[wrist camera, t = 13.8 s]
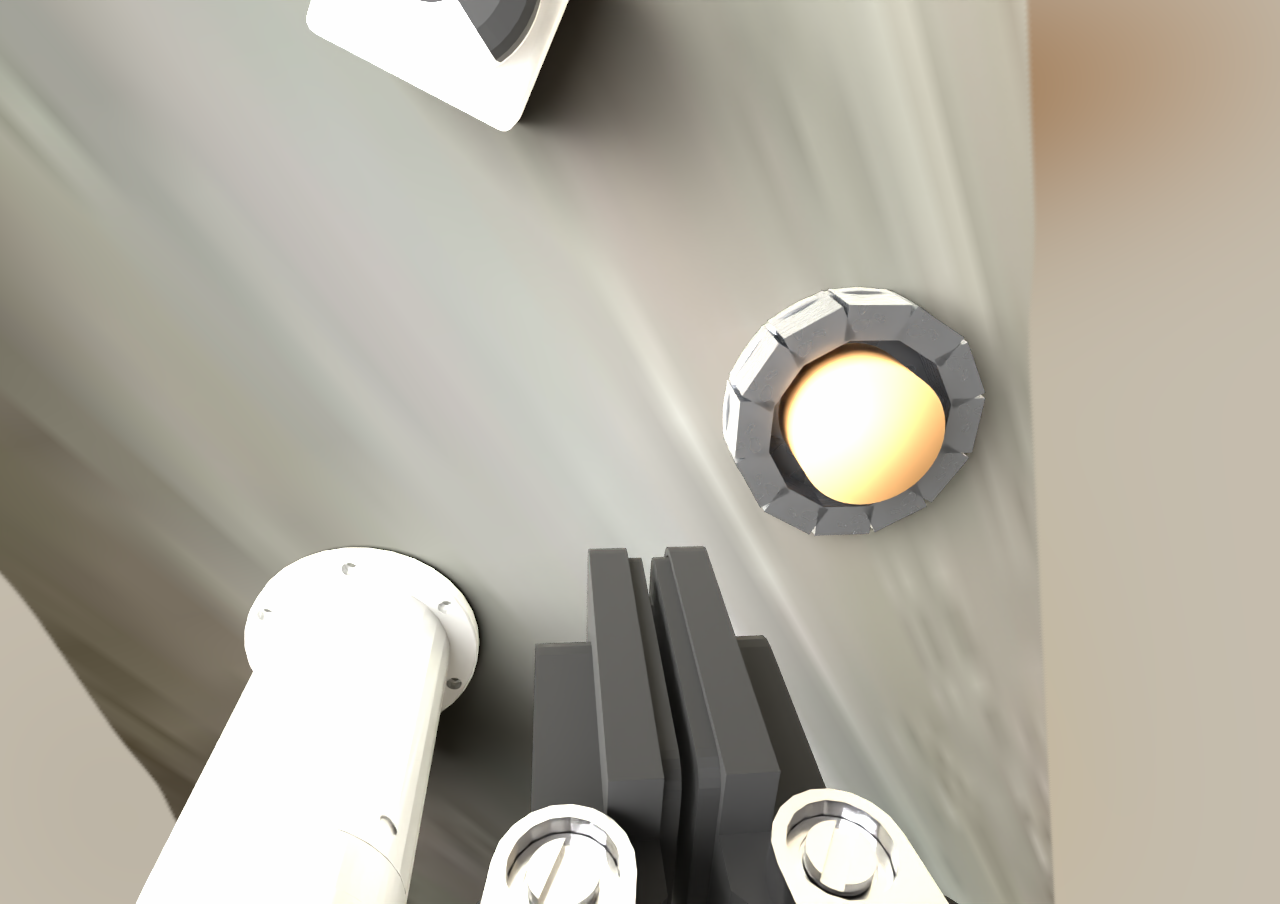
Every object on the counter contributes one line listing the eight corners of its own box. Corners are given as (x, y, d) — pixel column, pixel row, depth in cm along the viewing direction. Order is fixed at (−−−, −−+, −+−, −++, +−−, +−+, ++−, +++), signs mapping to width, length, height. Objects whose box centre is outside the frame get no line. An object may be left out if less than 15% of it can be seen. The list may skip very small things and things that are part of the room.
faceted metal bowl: (929, 504, 43) (954, 532, 41) (714, 511, 42) (725, 540, 39) (978, 287, 38) (1010, 302, 35) (732, 286, 36) (746, 302, 34)
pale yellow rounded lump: (895, 467, 41) (927, 503, 37) (770, 468, 40) (791, 505, 37) (921, 343, 38) (960, 370, 34) (787, 342, 37) (812, 369, 34)
